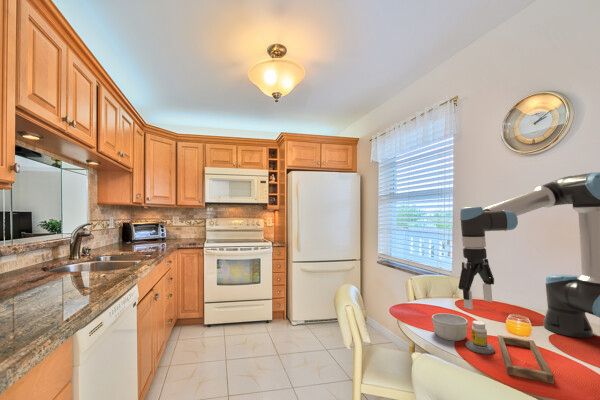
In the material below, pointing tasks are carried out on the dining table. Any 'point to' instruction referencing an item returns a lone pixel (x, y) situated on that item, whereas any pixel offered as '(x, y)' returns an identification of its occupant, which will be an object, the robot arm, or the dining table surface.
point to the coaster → (480, 350)
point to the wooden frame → (542, 375)
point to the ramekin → (450, 326)
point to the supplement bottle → (479, 334)
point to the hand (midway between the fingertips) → (478, 304)
